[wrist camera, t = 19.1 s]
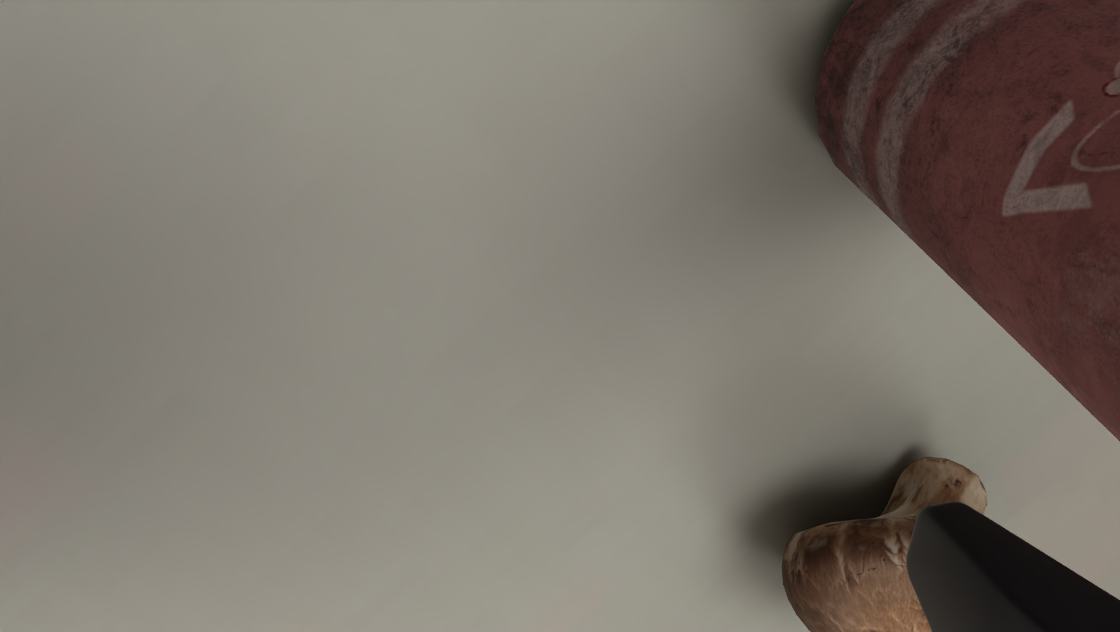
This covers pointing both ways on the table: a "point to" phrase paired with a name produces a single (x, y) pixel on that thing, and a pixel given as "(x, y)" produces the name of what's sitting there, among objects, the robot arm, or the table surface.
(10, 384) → the table surface
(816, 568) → the mushroom
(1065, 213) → the can
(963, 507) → the robot arm
